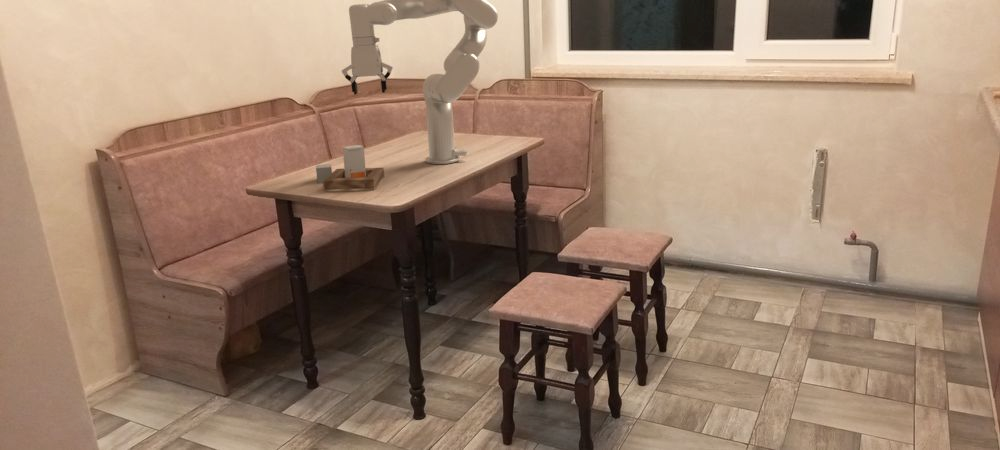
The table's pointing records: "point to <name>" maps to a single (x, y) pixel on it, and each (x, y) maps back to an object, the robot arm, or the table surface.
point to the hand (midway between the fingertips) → (369, 93)
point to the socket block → (354, 180)
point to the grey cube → (323, 172)
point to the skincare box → (354, 161)
